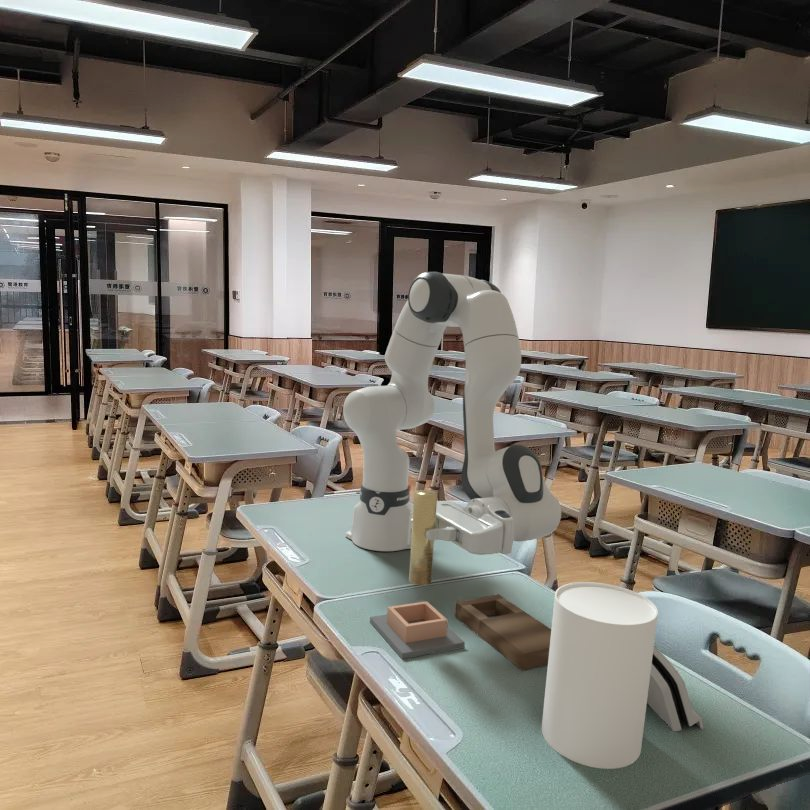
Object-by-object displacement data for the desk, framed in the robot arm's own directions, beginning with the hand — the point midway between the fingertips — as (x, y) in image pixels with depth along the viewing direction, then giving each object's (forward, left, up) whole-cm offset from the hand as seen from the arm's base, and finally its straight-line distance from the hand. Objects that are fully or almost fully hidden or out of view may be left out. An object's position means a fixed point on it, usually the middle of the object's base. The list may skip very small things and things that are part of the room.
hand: (419, 529), depth 120 cm
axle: (-1, +1, -9) cm, 10 cm away
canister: (+18, +32, -20) cm, 42 cm away
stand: (-1, +1, -20) cm, 20 cm away
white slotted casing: (+5, +40, -20) cm, 45 cm away
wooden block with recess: (-7, +16, -20) cm, 26 cm away
